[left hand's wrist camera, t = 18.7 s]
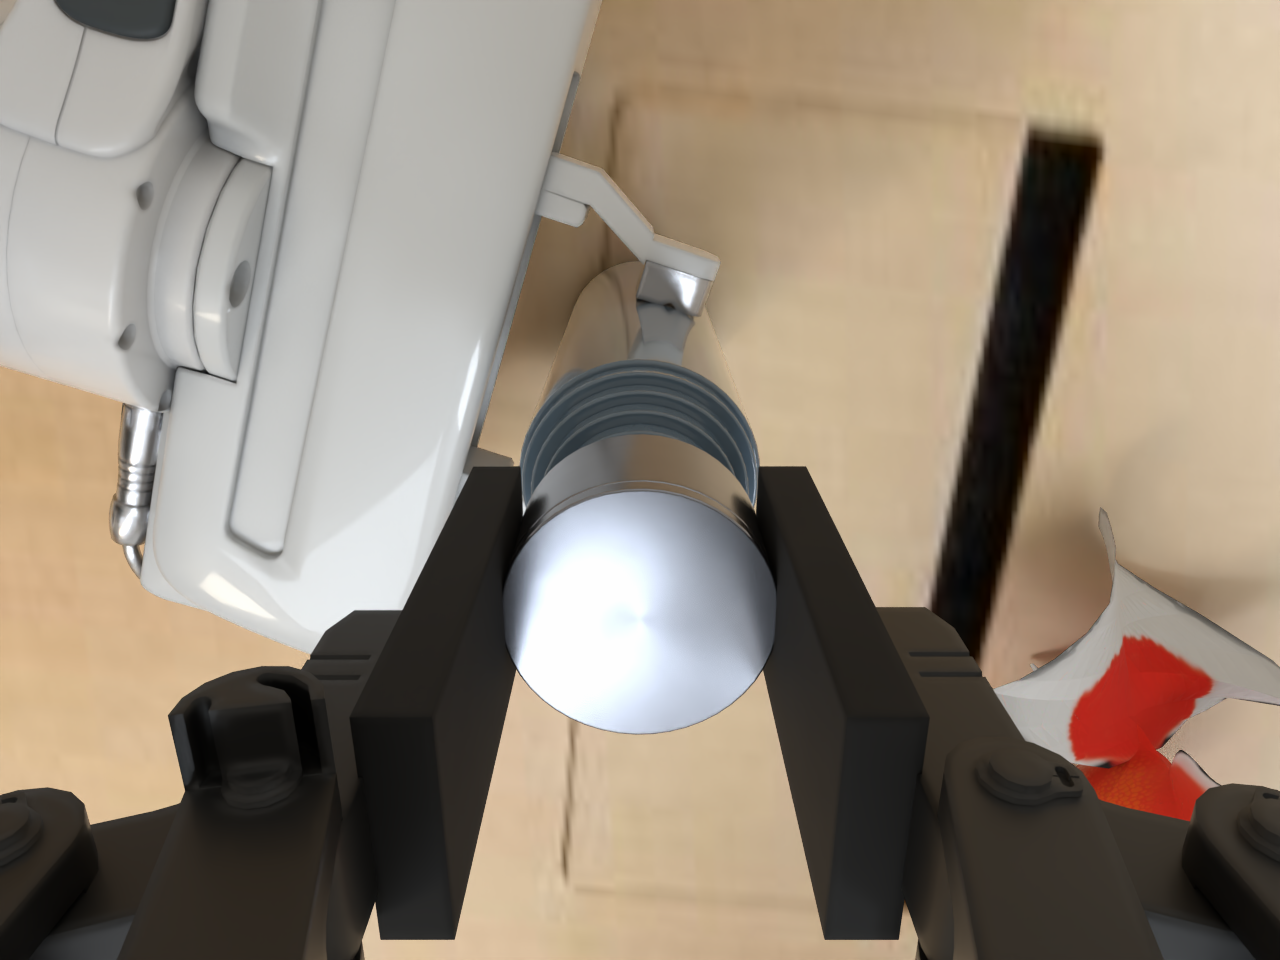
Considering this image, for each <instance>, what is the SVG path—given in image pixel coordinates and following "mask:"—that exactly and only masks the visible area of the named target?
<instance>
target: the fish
mask: <svg viewBox="0 0 1280 960" xmlns="http://www.w3.org/2000/svg"><path fill="white" fill-rule="evenodd" d="M1099 529H1100V531H1101V533H1102V536H1103V539H1104V542H1105V545H1106V549H1107V554H1108V559H1109V565H1110V571H1111V577H1112V582H1113V585H1112V591H1111V597H1110V604H1109V605H1108V606H1107V607H1106V609H1105V610H1104V611H1103V613H1102V614H1101V615H1100V617H1099V618H1098V619H1097V621H1096V622H1095V623H1094V624H1093V626H1092V627H1091V628H1090V630H1089V631H1088V632H1087V633H1086V634H1085V635H1084V636H1082V637H1081V638H1080V639H1079V640H1077V641H1076V642H1075V643H1074V644H1073V645H1071V646H1070V647H1069V648H1068V649H1066V650H1065V651H1064V652H1063V653H1062V654H1060V655H1059V656H1058V657H1057V658H1055V659H1054V660H1052V661H1050V662H1049V663H1047V664H1045V665H1044V666H1042V667H1040V668H1039V669H1038V668H1037V667H1036V666H1035V665H1034V664H1033V663H1032V664H1030V666H1031V668H1032V669H1033V672H1032V673H1030V674H1028V675H1027V676H1025V677H1023V678H1021V679H1020V680H1017V681H1014V682H1012V683H1009V684H1006V685H1003V686H1000V687H998V688H995V689H993V690H994V692H995V693H996V695H997V697H998V698H999V700H1000V701H1001V703H1002V705H1003V706H1004V708H1005V709H1006V711H1007V712H1008V714H1009V716H1010V717H1011V719H1012V720H1013V722H1014V724H1015V725H1016V727H1017V728H1018V730H1019V731H1020V733H1021V735H1022V736H1023V738H1024V739H1025V741H1027V742H1032V743H1035V744H1037V745H1039V746H1042V747H1044V748H1046V749H1048V750H1050V751H1053V752H1055V753H1057V754H1059V755H1061V756H1062V757H1064V758H1065V759H1066V760H1068V761H1069V762H1070V763H1074V764H1079V765H1077V766H1076V767H1077V768H1078V769H1079V770H1081V771H1082V772H1083V774H1084V775H1085V777H1086V778H1087V779H1088V781H1089V782H1090V784H1091V785H1092V787H1093V788H1094V789H1095V791H1096V794H1097V796H1098V799H1100V800H1102V801H1106V802H1109V803H1113V804H1116V805H1120V806H1123V807H1127V808H1131V809H1136V810H1140V811H1145V812H1149V813H1154V814H1159V815H1163V816H1168V817H1173V818H1177V819H1182V820H1186V821H1190V820H1191V816H1192V813H1193V809H1194V805H1195V802H1196V799H1198V798H1199V797H1200V796H1201V795H1202V794H1203V793H1204V792H1205V791H1206V790H1208V789H1209V788H1212V787H1217V786H1221V785H1220V784H1218V783H1216V782H1215V781H1214V780H1213V779H1212V778H1210V777H1209V776H1208V775H1207V774H1206V772H1205V771H1204V770H1203V769H1202V768H1201V767H1200V766H1199V765H1198V764H1197V763H1196V762H1195V761H1194V760H1193V759H1192V758H1191V757H1190V756H1189V755H1188V754H1187V753H1186V752H1184V751H1183V750H1179V751H1178V752H1177V753H1176V755H1175V757H1174V759H1173V762H1172V764H1171V763H1170V762H1169V760H1168V759H1167V758H1166V757H1164V756H1163V755H1162V754H1161V753H1159V752H1158V751H1156V749H1159V748H1161V747H1163V746H1164V744H1165V743H1166V742H1167V741H1168V740H1169V739H1170V738H1171V737H1172V736H1173V735H1174V734H1175V733H1176V731H1177V730H1178V729H1179V728H1180V727H1181V726H1182V725H1183V724H1184V723H1185V722H1186V721H1187V719H1189V718H1191V717H1193V716H1195V715H1197V714H1199V713H1201V712H1203V711H1205V710H1207V709H1209V708H1211V707H1212V706H1214V705H1216V704H1217V703H1219V702H1221V701H1222V700H1224V699H1226V698H1235V699H1241V700H1247V701H1253V702H1260V703H1266V704H1272V705H1278V706H1280V667H1279V666H1278V665H1277V664H1276V663H1275V662H1274V661H1273V660H1271V659H1269V658H1268V657H1266V656H1265V655H1263V654H1262V653H1260V652H1258V651H1257V650H1255V649H1254V648H1252V647H1251V646H1249V645H1248V644H1246V643H1244V642H1243V641H1241V640H1240V639H1238V638H1237V637H1235V636H1234V635H1232V634H1230V633H1229V632H1227V631H1226V630H1224V629H1223V628H1221V627H1220V626H1218V625H1216V624H1215V623H1213V622H1212V621H1210V620H1209V619H1207V618H1205V617H1204V616H1202V615H1201V614H1199V613H1197V612H1196V611H1194V610H1192V609H1190V608H1189V607H1187V606H1185V605H1183V604H1182V603H1180V602H1178V601H1176V600H1175V599H1173V598H1171V597H1170V596H1168V595H1166V594H1164V593H1163V592H1161V591H1159V590H1157V589H1156V588H1154V587H1152V586H1151V585H1149V584H1148V583H1146V582H1145V581H1143V580H1142V579H1140V578H1139V577H1137V576H1136V575H1134V574H1133V573H1131V572H1130V571H1128V570H1127V569H1125V568H1124V567H1122V566H1121V565H1119V564H1118V563H1117V561H1116V559H1115V557H1116V546H1115V542H1114V537H1113V533H1112V529H1111V525H1110V522H1109V519H1108V515H1107V513H1106V512H1105V511H1104V510H1103V509H1102V508H1101V507H1100V512H1099Z"/></svg>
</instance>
